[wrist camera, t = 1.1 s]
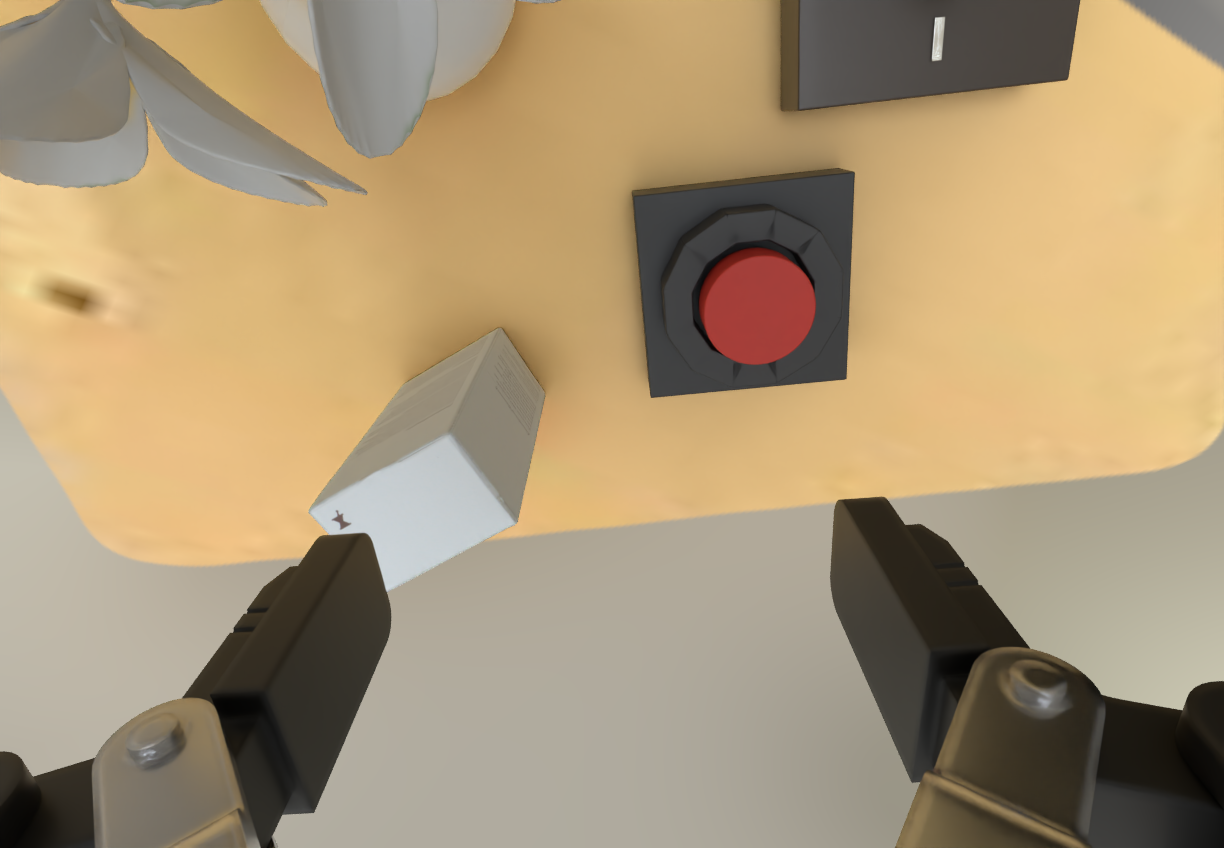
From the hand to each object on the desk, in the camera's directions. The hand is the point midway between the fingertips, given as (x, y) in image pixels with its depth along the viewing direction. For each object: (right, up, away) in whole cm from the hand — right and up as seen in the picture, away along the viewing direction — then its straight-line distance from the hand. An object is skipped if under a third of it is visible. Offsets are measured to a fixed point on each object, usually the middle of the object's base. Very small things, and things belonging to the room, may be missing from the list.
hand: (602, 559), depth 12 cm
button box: (+6, +9, +20) cm, 22 cm away
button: (+6, +7, +16) cm, 19 cm away
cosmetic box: (-7, +4, +22) cm, 23 cm away
